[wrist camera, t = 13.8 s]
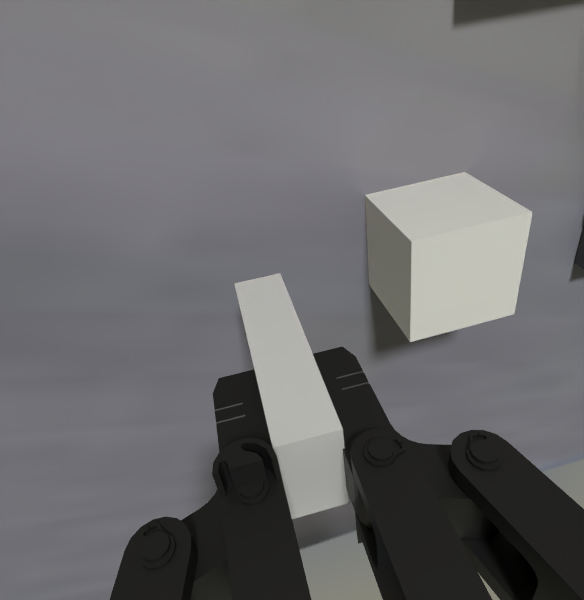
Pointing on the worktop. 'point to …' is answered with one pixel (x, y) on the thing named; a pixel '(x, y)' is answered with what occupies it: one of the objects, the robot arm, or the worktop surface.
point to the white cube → (445, 253)
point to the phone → (580, 252)
